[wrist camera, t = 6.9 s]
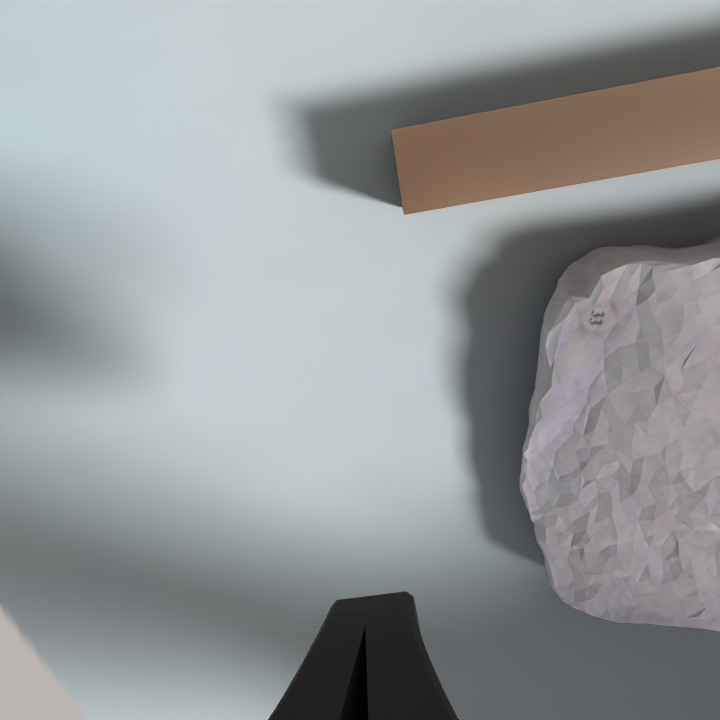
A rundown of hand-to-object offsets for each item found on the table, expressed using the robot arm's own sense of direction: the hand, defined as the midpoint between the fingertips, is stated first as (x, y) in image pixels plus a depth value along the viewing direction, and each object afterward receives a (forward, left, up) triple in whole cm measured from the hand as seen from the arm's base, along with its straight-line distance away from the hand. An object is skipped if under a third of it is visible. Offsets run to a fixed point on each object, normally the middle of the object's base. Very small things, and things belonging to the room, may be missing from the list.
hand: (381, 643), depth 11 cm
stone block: (-1, -9, -10) cm, 14 cm away
